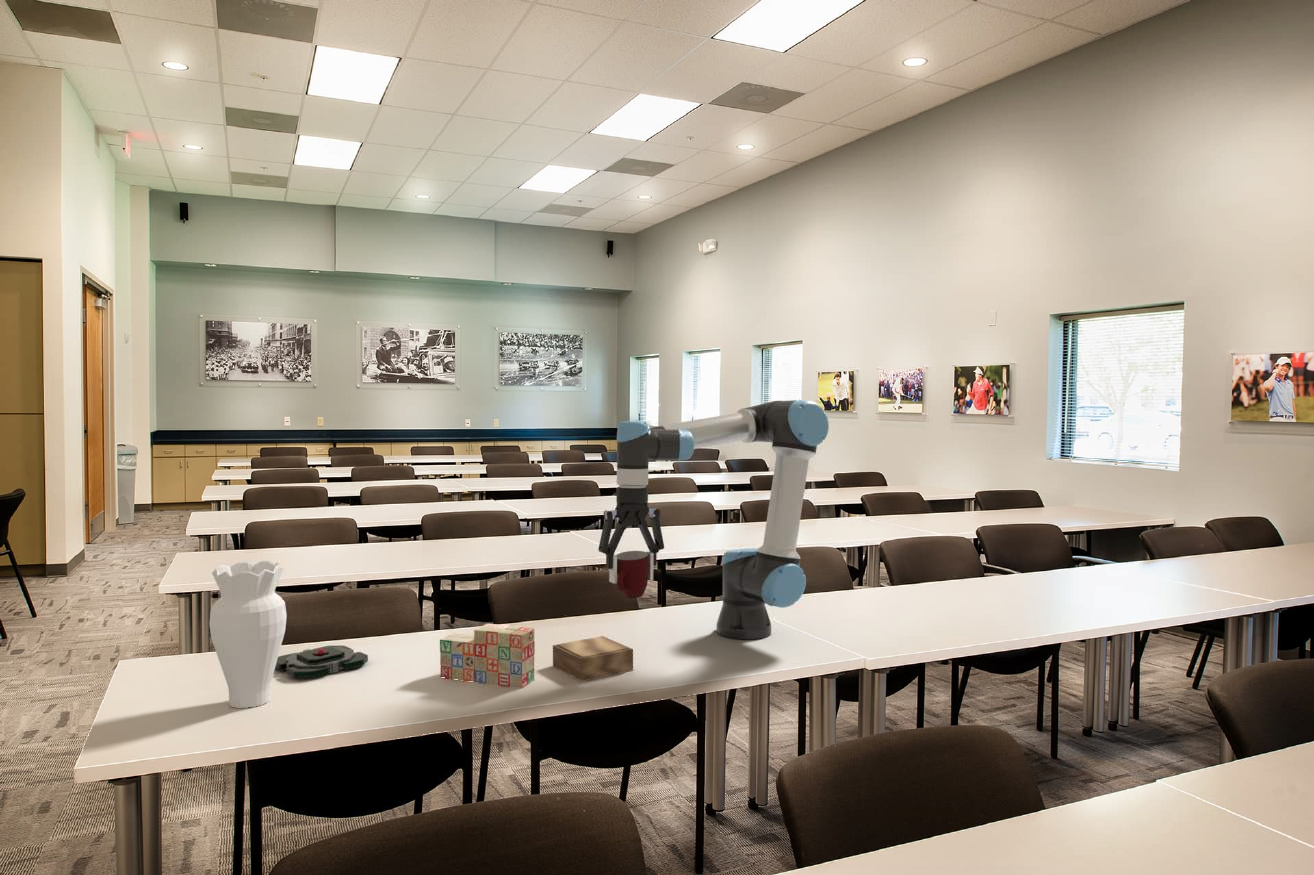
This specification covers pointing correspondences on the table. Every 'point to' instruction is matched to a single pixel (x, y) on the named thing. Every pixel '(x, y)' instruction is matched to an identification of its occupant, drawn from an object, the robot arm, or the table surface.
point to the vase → (248, 629)
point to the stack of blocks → (490, 655)
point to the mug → (632, 573)
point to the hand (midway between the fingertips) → (631, 580)
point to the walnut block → (592, 658)
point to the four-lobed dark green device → (320, 661)
